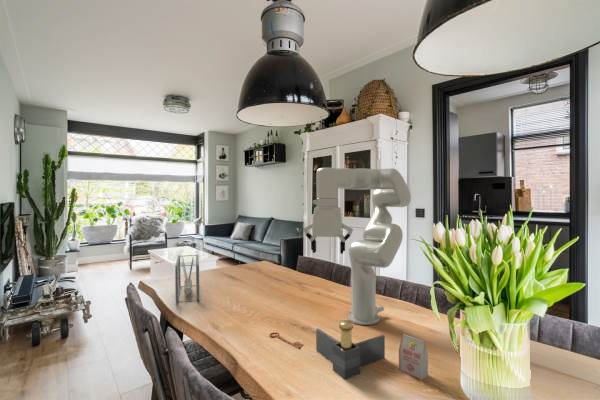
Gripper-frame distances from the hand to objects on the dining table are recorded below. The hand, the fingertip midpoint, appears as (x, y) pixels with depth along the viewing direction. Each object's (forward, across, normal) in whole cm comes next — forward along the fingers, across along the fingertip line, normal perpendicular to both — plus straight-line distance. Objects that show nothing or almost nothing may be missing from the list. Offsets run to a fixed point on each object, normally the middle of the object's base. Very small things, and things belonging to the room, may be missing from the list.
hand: (328, 252), depth 110 cm
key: (+31, -14, -5) cm, 34 cm away
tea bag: (+30, +26, -16) cm, 43 cm away
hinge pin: (+30, +8, -20) cm, 37 cm away
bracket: (+30, +8, -11) cm, 33 cm away
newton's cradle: (+30, -77, +34) cm, 89 cm away
